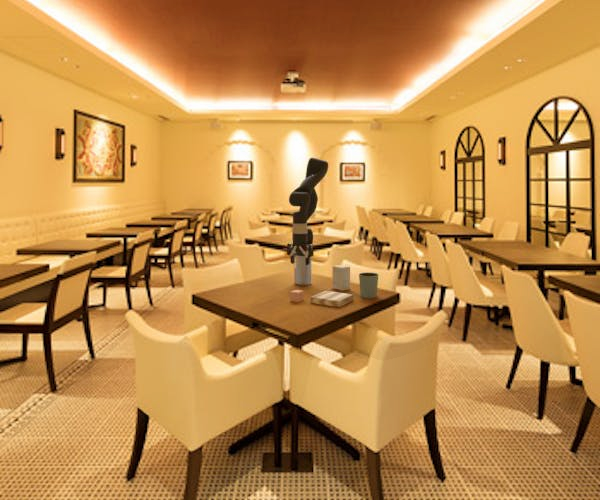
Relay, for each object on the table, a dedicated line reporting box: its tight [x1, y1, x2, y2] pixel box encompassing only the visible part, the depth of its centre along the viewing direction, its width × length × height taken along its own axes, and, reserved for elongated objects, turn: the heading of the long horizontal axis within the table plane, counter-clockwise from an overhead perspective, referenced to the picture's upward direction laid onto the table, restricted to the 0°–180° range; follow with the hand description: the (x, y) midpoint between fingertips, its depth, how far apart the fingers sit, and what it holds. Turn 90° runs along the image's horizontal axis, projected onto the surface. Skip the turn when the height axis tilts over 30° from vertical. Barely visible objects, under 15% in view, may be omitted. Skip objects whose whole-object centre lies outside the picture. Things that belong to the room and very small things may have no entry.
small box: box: [332, 264, 351, 291], centre depth 263 cm, size 8×6×13 cm
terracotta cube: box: [289, 289, 305, 303], centre depth 237 cm, size 5×5×5 cm
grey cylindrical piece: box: [358, 272, 379, 299], centre depth 246 cm, size 10×10×12 cm
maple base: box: [310, 290, 354, 308], centre depth 236 cm, size 16×16×3 cm
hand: (300, 264), depth 235 cm, fingers open, 8 cm apart
